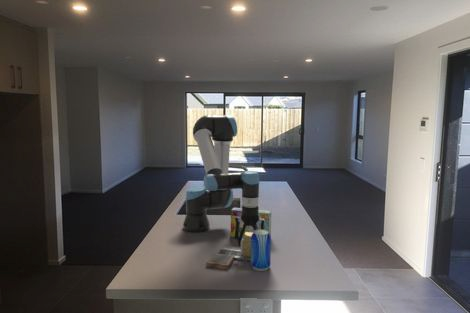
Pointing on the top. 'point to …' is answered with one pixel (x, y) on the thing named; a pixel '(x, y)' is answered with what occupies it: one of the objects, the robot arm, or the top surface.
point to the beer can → (260, 249)
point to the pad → (220, 261)
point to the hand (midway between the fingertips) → (249, 254)
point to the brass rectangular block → (247, 244)
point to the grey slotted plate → (234, 254)
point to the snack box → (262, 215)
